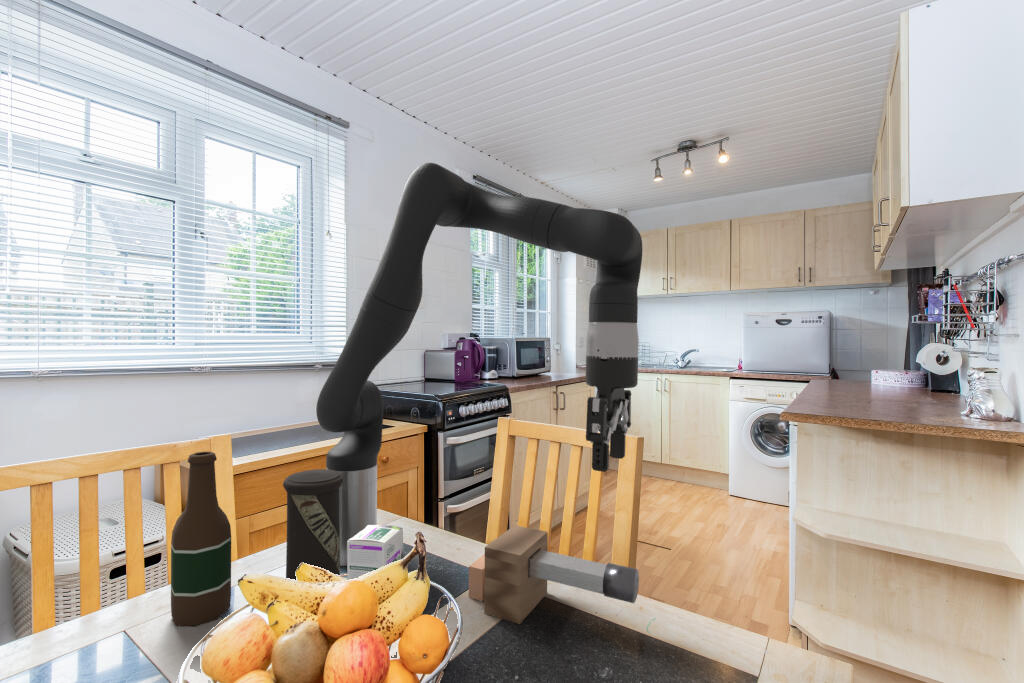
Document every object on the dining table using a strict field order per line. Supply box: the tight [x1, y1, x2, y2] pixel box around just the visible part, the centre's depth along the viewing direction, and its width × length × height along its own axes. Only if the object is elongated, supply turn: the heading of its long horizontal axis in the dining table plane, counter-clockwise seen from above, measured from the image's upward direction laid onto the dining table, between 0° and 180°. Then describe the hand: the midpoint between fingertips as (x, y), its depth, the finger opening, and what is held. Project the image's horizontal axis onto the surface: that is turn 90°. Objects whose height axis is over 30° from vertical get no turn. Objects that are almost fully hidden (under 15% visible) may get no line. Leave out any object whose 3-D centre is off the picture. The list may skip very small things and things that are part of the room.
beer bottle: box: [170, 451, 232, 628], centre depth 73 cm, size 8×8×24 cm
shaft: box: [528, 549, 640, 604], centre depth 73 cm, size 20×4×4 cm, turn 63°
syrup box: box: [346, 524, 404, 580], centre depth 68 cm, size 6×6×14 cm
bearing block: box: [483, 524, 549, 625], centre depth 77 cm, size 6×10×10 cm, turn 153°
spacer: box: [468, 553, 485, 602], centre depth 80 cm, size 5×5×2 cm
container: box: [282, 468, 343, 580], centre depth 78 cm, size 9×9×20 cm
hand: (609, 463), depth 72 cm, fingers open, 8 cm apart
